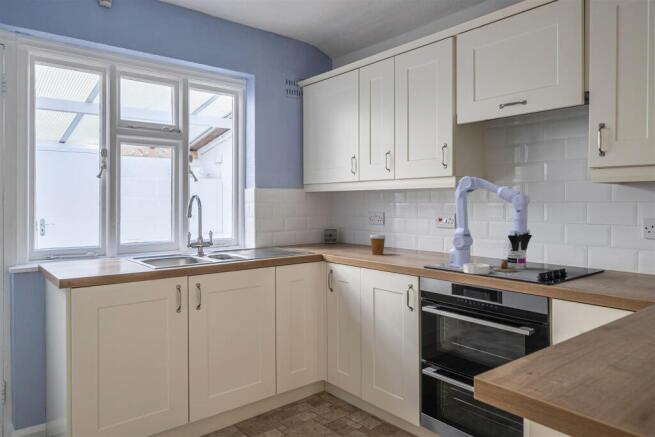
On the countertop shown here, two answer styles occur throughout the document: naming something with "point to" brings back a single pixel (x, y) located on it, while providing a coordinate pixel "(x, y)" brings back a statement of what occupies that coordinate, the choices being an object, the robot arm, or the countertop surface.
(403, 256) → the countertop surface
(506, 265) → the lid
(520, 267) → the supplement can
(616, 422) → the countertop surface
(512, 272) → the mat
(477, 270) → the bowl
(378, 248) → the disposable coffee cup
